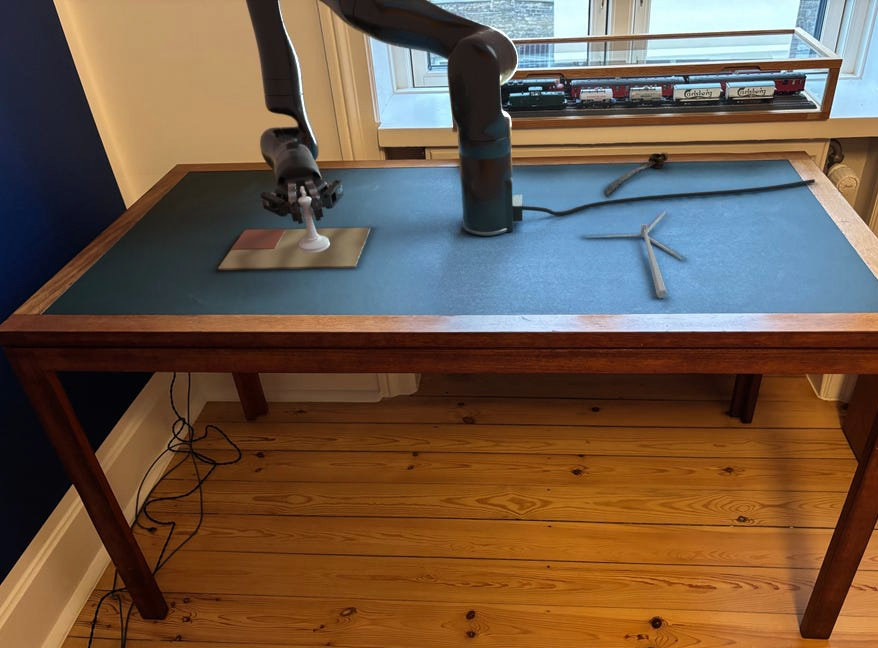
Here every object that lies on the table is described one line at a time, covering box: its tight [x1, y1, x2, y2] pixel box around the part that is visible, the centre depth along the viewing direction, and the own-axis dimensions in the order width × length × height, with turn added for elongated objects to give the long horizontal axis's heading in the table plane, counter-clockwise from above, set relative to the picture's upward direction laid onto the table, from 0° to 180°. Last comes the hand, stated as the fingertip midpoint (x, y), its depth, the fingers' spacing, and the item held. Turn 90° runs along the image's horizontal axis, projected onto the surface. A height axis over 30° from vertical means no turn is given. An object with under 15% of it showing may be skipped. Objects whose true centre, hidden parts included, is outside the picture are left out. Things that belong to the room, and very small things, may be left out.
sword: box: [604, 151, 669, 197], centre depth 149 cm, size 25×4×2 cm, turn 137°
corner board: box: [217, 227, 372, 271], centre depth 129 cm, size 24×15×1 cm, turn 87°
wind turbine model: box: [584, 210, 683, 299], centre depth 122 cm, size 16×2×30 cm
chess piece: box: [298, 186, 330, 253], centre depth 113 cm, size 5×5×10 cm
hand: (308, 216), depth 110 cm, fingers closed on chess piece
